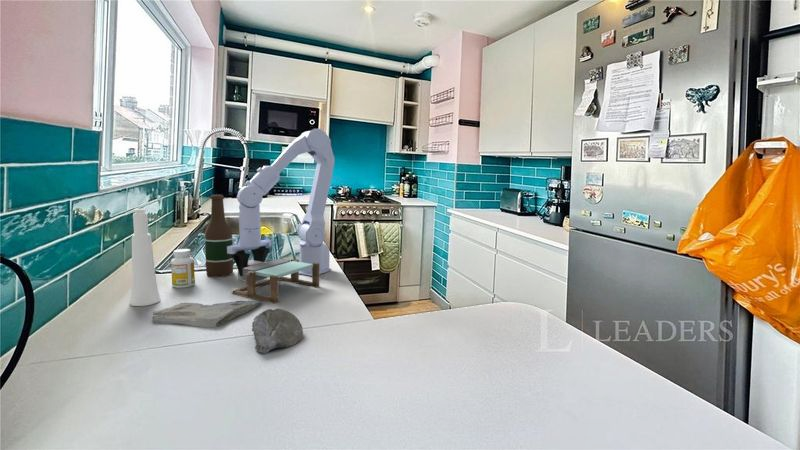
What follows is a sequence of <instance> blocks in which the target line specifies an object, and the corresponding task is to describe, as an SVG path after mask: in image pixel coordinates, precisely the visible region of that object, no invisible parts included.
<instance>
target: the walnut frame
mask: <svg viewBox="0 0 800 450" xmlns="http://www.w3.org/2000/svg"><path fill="white" fill-rule="evenodd" d="M292 261H296V262H300V258H297V259H290V262H292ZM312 264H313V267H312V276H311V278H312V279H311V281H309V280H308V281H307V280H304V279H300V278H299V277H300V274H299V272H296V273H293V274H290V277H287V276H283V277H280V278H278V276H275V275H272V276H270V277H269V279H268V278H267V279H266V280H263V281H258V282H257V281H256V272H253V271H247V273H246V277H247V281H246V286H243V287H240V288H235V289H234V290H232V291H231V292H232V294H233V295H237V296H240V297H245V298H251V299H254V300H257V301H262V302H263V301H264V302H268V303H271V304H277V303H279V281H285V282H288V283H294V284H300V285H306V286H311V287H314V288H315V287H316V288H318V287H320V274H319V263H312ZM268 284H269V294H270V295H269V296H267V295H262V294H258V293H257V288H259V287H262V286H265V285H268Z"/></svg>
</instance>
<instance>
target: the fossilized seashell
mask: <svg viewBox="0 0 800 450" xmlns="http://www.w3.org/2000/svg"><path fill="white" fill-rule="evenodd" d="M251 324H252V325H251V327H252V328H251V332H253V336H254V337H253V338H254V341H255V343H256V344H255V347H254V349H255V350H256V351H257V352H259V353H260V354H263V355H264V354H268V353H269V351H272V350H274V349H288V348H291V347H293V346H295V345H297V344H298V343H299V342H301V341H302V338H303V336H304V329H303V325H302V323H301V321H300V320H299V318H298V317H297V316H296V315H295V314H293V313H292V312H291V311H289V310H287V309H283V308H274V309H265V310H264V311H262V312H261V313H259V314H258V315H256V316H255V317H254V319H253V321H252V323H251ZM296 343H297V344H296ZM292 345H293V346H292ZM287 347H288V348H287Z"/></svg>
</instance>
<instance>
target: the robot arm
mask: <svg viewBox="0 0 800 450" xmlns="http://www.w3.org/2000/svg"><path fill="white" fill-rule="evenodd" d="M331 142H332V141H331V138H330V137H329V136H328V134H327V133H326V132H325V131H324V130H323V129H321V128H313V129H312V130H306V131H304V132H302V133H301V134H300V135H299V136H298V137H296V138H295V139H293V141H292V142H290V144H288V146H286V148H285V149H284V150H283V152H281V154H280V155H279V156H278V157H277V158H276V159H275V161H273V163H272V164H271V165H263V166H262V167H259V168H257V169H256V172H257V173H255V174H254V176H253V177H252V178H251V179H250V180H246V181H245V184H246V185H245V186H242V187H241V188H240V189H239V190H238V192H237V195H236V199H237V201H238V203H239V206H238V209H239V212H238V224H239V225H238V226H239V227H238V228H239V231H238V232H239V234H238V235H239V241H238V242H237V243H236V244H233V245H232V246H228V247H227V253H228V254H231V256H232V258H233V262H234V263H235V265H236V267H237V272H238V271H239V274H240V276H242V277H243V268H246V267H247V266H248V260H250V256H251V253H252V257H253V260H256V261H262V262H264V263H265V261H266V258H267V256H268V254H269V253H270V248H269V247H272V239H268V238H267V239H262V233H261V232H262V231H261V225H262V224H261V210H260V209H261V208H260V207H261V206H260V205H261V203H262V201H263V196H267V194H268V193H269V191H271V189H272V188H273V187H274V186H275V185H277V183H279V181H280V179H281V178H280V175H281V174H280V173H281V172H282V171H284V169H285V168H286V167H287V166H289V164H291V163H292V162H293V161H294V160H295V159H296V158H297V157H298V156H299V155H302V154H305V153H307V154H309V155H310V156H311V158H313V160H314V161H315V163H316V166H315V167H316V168H315V170H314V175H313V180H312V181H313V182H312V184H311V185H312V186H311V191H310V196H309V200H308V204H307V205H308V206H307V210H306V213H305V215H304V216H303V218H302V222H301V223H300V225H299V226H298V228H297V236H298V237H299V238H300V241H299V262H303V263H309V264H312V263H319V275H321V274H324V273H327V272H330V271H332V270H331V269H332V268H331V267H330V248H329V247H328V245H327V243H325V242H324V241H325V239H326V237H327V236H326V235H327V234H326V229H325V227H326V220H325V218H324V214H325V210H326V207H327V206H326V205H327V200H328V195H329V191H330V187H331V181H332V176H333V172H334V167H335V160H336V159H335V155H334V153H333V148H332V144H331ZM247 251H251V253H246V252H247ZM329 270H330V271H329ZM299 275H304V276H311V277H312V268H308V269H305V270H302V271H299Z"/></svg>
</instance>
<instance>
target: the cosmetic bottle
mask: <svg viewBox="0 0 800 450" xmlns="http://www.w3.org/2000/svg"><path fill="white" fill-rule="evenodd" d="M133 211H134V213H133V214H132V220H133V221H132V222H133V234H131V235H132V236H131V291H130V299H129V305H130V306H133V307H144V306H145V307H146V306H151V305H154V304H157V303H159V302H160V301H161V297H160V292H159V288H158V282H157V275H156V268H155V260H154V259H155V258H154V251H153V244H152V242H153V241H152V234H151V233H149V221H148V220H149V219H148V213H147V212H146V211H147V210H146V208H134V209H133Z"/></svg>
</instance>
